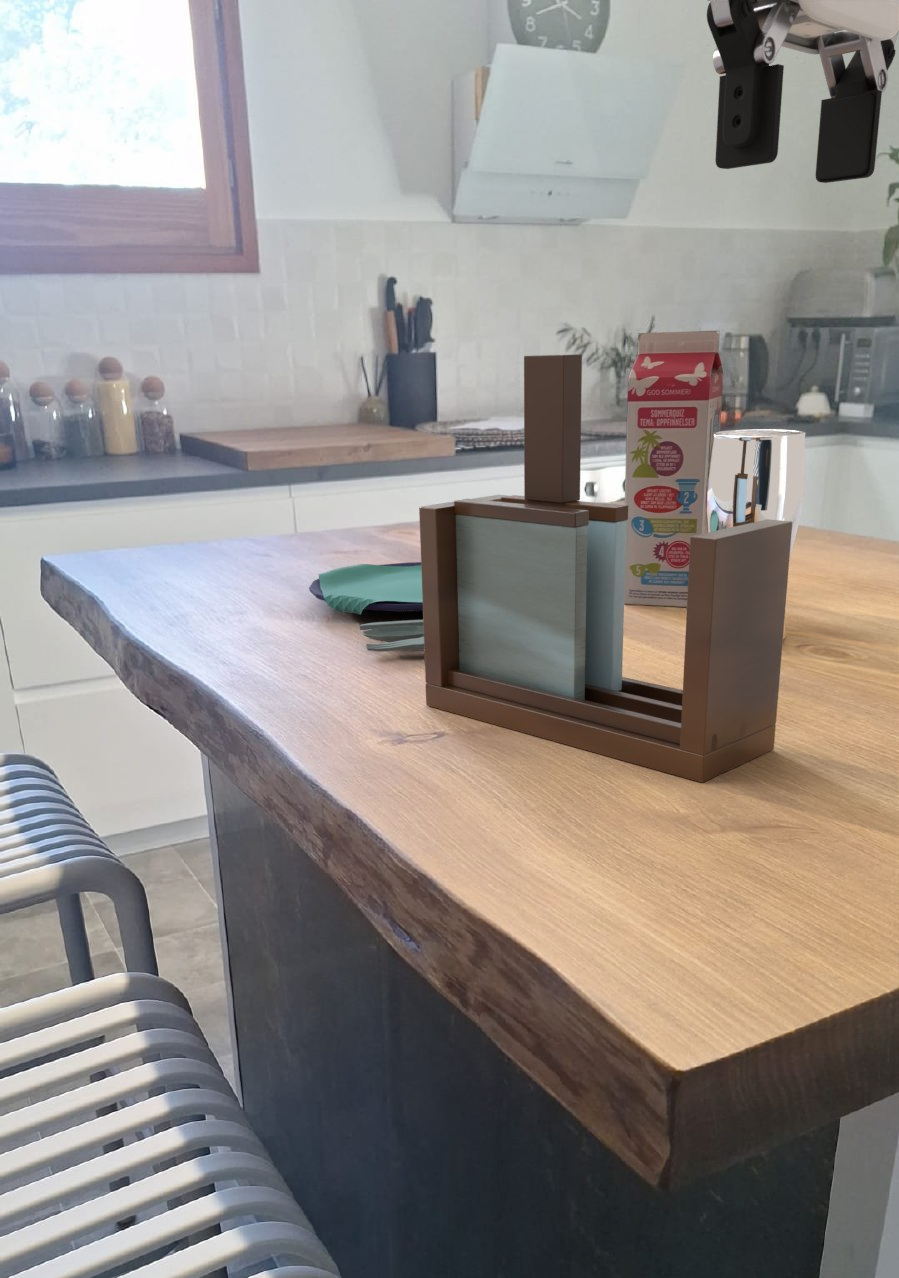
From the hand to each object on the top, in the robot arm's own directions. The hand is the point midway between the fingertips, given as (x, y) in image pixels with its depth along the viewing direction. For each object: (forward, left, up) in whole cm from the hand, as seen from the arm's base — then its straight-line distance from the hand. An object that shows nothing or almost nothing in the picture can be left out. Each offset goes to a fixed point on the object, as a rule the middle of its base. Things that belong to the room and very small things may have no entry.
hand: (797, 172), depth 59 cm
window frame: (+9, -6, -29) cm, 31 cm away
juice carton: (-24, -24, -30) cm, 45 cm away
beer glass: (-16, -11, -30) cm, 35 cm away
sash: (+8, -9, -27) cm, 30 cm away
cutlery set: (-6, -36, -30) cm, 47 cm away
